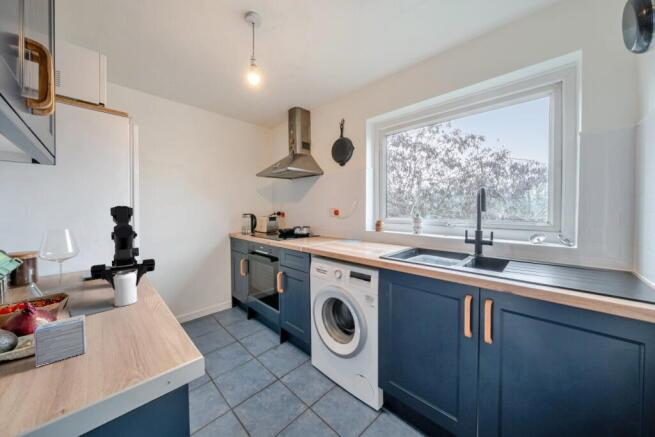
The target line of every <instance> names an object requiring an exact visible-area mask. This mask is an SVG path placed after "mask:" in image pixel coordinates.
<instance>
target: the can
mask: <svg viewBox="0 0 655 437" xmlns="http://www.w3.org/2000/svg"><path fill="white" fill-rule="evenodd" d="M136 278H137V273H136V272H135V271H134V270H128V271H121V272H117V273H114V276H113V279H114V285H115V290H113V293H114V294H113V296H114V306H115V307H118V308H119V307H120V308H121V307H128V306H131V305H133V304H135V303H137V301H138V286H136Z"/></svg>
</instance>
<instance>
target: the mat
mask: <svg viewBox="0 0 655 437" xmlns="http://www.w3.org/2000/svg"><path fill="white" fill-rule="evenodd" d="M114 309H115V308H114V306H113V305H112V304H111V302H109V301H103V302H98V303H95V304H89V305H84V306H79V307H77V308H72V309H69V310H68V311H69V314H70V316H71V317H76V316H80V315H85V317H88V316H92V315H96V314H100V313H103V312H108V311H112V310H114ZM71 317H70V318H71Z"/></svg>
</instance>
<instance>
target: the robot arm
mask: <svg viewBox="0 0 655 437" xmlns="http://www.w3.org/2000/svg"><path fill="white" fill-rule="evenodd" d="M109 211H110V217H112V222H114V223H115V226H113V231H111V232H110V234H111V235H110V238H111V241H113V243H114V255H113V260H111V265H107V264H106V263H102V264H100V263H99V264H94V265H91V266H90V276H91V280H100V279H101V280H102V281H104V280H105V281H106V282H107V283H108V284H109V285H110V286H111V288H112V290H113V291H114V290H115V285H114V276H113V275H115V273H117V272H121V271H128V270H134V271H137V272H136V286H137V287H138V286H139V283H140V281H141V279H142V277H143V276H144V275H145V274H147V273H148V272H149V273H150V272H154V271H155V269H156V268H155V267H156V260H155V259H154V258H145V259H142V261H141V263H138V260H137V259H136V258H135V257H139V256H140V248H139V247H134V240H135V239H136V237H138V233H137V232H136V231H135V230H134V228H133V225H132V224H130V222H131V221H132V217H133V216H134V209H133V207H130V206H128V205H116V206H114V207H110V209H109Z"/></svg>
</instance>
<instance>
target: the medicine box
mask: <svg viewBox="0 0 655 437" xmlns="http://www.w3.org/2000/svg"><path fill="white" fill-rule="evenodd" d="M86 332H87V331H86V316H85V315H80V316H76V317H67V318H62V319H58V320H54V321H50V322H45V323H44V322H43V323H41V324H38V325H37V326H36V328H35V330H34V332H33V335H34V352H35V353H34V354H35V367H36V366H38V365H42V364H46V363H51V362H54V363H56V362H55V361H57V362H59V361H58V360H61V359H64V358H67V359H69V358H68V357H71V358H73V357H72V356H74V357H76V355H77V356H80V354H81V355H83V353H84V354H86V352H87V333H86ZM64 360H65V359H64ZM61 361H62V360H61ZM51 364H52V363H51Z"/></svg>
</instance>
